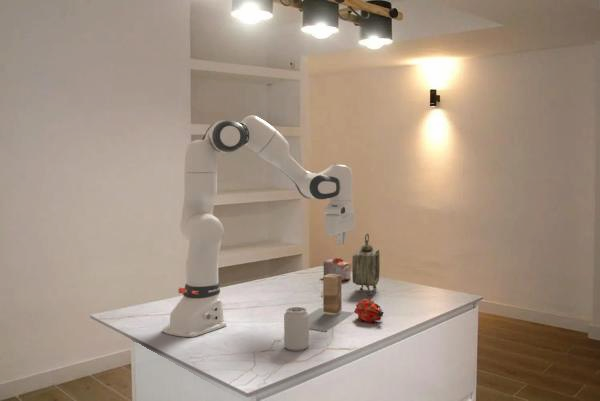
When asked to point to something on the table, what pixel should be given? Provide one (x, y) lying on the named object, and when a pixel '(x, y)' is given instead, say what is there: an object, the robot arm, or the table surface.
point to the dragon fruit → (368, 311)
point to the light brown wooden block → (332, 294)
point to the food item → (338, 268)
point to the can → (296, 329)
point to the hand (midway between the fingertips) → (341, 244)
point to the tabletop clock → (366, 266)
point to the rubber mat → (325, 320)
